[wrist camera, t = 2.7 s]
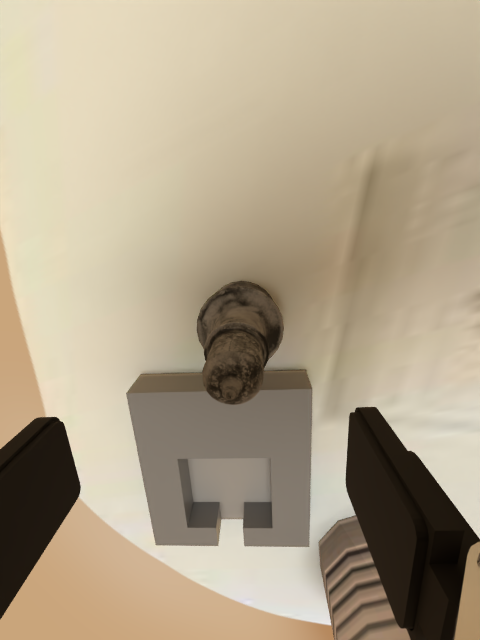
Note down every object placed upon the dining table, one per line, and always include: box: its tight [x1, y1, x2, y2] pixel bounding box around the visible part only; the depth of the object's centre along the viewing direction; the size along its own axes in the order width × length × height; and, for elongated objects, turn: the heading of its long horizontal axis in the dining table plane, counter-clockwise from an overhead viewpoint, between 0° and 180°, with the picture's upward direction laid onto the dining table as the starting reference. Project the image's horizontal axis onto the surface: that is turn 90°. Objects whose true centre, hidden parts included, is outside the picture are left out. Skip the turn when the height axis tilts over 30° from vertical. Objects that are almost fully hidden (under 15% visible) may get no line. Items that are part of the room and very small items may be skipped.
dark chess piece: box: [197, 281, 284, 405], centre depth 18 cm, size 6×6×12 cm
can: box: [319, 516, 411, 640], centre depth 25 cm, size 11×11×12 cm
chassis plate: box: [126, 370, 312, 547], centre depth 26 cm, size 16×14×3 cm
